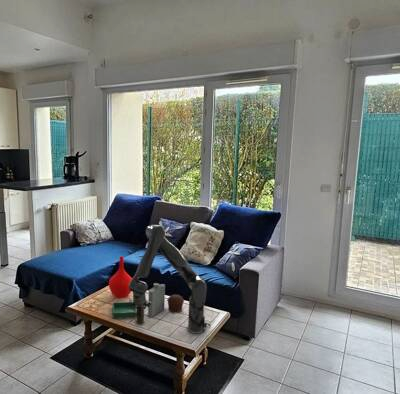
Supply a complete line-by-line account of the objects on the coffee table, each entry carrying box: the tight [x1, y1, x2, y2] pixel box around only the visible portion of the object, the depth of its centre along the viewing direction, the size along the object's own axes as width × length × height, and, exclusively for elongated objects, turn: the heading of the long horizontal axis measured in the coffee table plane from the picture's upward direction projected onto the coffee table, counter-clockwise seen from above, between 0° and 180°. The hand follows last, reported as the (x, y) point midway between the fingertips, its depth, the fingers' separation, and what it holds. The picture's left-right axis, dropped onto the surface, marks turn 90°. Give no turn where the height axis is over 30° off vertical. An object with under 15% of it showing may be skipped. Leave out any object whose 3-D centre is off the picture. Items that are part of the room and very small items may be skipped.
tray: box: [112, 301, 137, 319], centre depth 229 cm, size 15×15×4 cm
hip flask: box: [147, 282, 166, 318], centre depth 229 cm, size 16×4×20 cm, turn 142°
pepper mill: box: [135, 306, 145, 325], centre depth 216 cm, size 5×5×12 cm
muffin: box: [166, 294, 185, 313], centre depth 234 cm, size 12×11×10 cm
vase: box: [108, 255, 133, 299], centre depth 253 cm, size 18×18×30 cm
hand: (140, 307), depth 217 cm, fingers closed on pepper mill, 5 cm apart
